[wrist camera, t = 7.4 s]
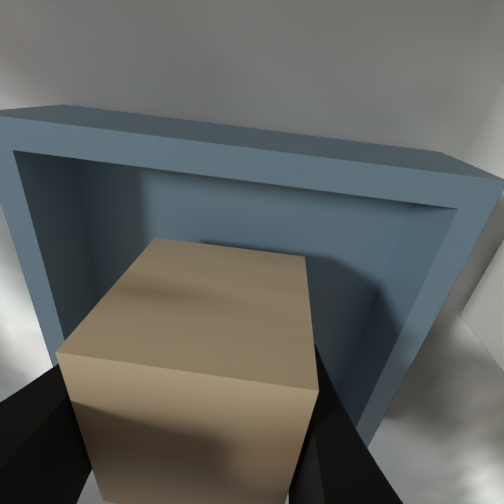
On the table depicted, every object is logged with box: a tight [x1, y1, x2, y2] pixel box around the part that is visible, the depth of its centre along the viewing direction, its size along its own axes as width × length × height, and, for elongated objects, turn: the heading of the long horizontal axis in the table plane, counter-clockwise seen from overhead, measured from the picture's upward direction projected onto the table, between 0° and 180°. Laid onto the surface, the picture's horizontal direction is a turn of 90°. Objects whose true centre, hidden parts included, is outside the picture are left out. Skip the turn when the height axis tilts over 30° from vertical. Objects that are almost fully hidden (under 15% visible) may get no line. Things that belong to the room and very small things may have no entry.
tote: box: [0, 105, 504, 447], centre depth 12 cm, size 13×13×4 cm
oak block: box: [55, 237, 319, 504], centre depth 9 cm, size 6×5×5 cm
